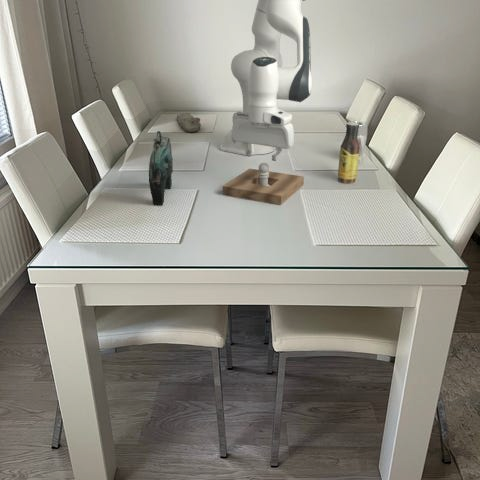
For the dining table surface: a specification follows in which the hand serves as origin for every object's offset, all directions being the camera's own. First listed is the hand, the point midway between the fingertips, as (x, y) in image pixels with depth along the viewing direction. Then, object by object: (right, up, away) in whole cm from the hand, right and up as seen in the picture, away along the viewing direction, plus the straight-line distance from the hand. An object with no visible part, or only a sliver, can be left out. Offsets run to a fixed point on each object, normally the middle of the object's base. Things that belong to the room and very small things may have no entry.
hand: (261, 158), depth 157 cm
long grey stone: (-33, +31, +89) cm, 100 cm away
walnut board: (+1, -10, +4) cm, 11 cm away
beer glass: (+37, +3, +31) cm, 48 cm away
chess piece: (+1, -10, +5) cm, 11 cm away
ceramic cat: (-31, -12, +1) cm, 33 cm away
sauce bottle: (+30, -6, +12) cm, 32 cm away
